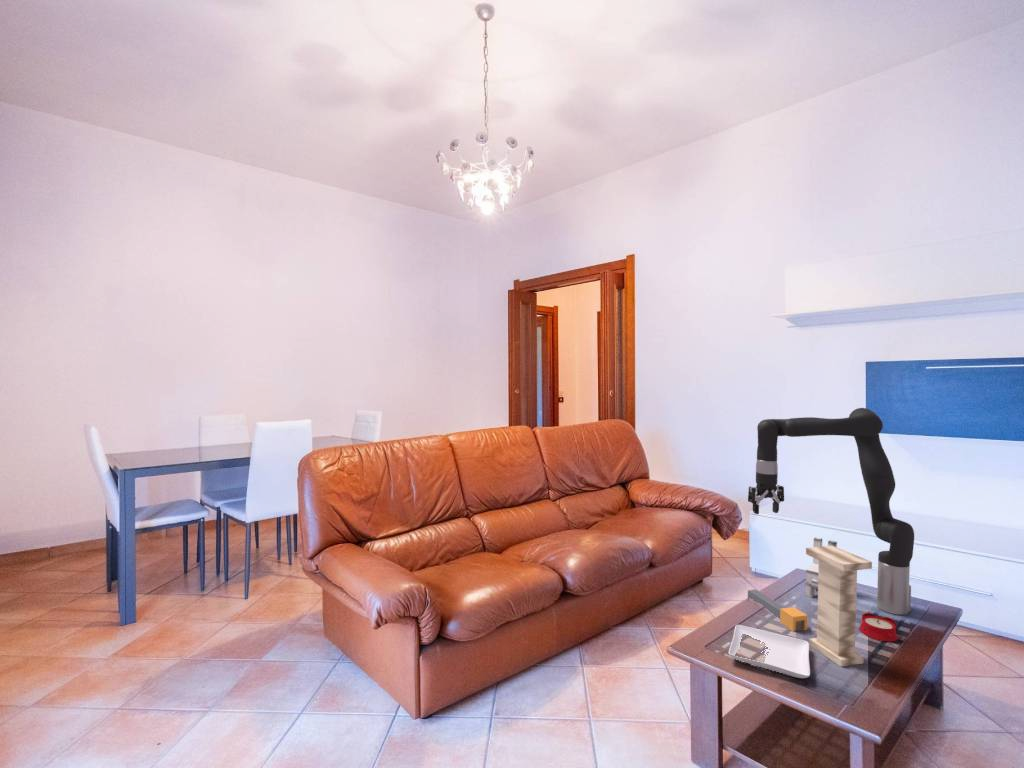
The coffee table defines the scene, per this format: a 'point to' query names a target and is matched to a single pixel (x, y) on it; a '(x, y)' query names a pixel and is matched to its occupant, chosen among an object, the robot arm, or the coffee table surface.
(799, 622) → the orange-tipped gray rod
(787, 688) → the coffee table surface
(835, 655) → the stand
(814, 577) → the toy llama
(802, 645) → the salad plate
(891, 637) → the alarm clock
